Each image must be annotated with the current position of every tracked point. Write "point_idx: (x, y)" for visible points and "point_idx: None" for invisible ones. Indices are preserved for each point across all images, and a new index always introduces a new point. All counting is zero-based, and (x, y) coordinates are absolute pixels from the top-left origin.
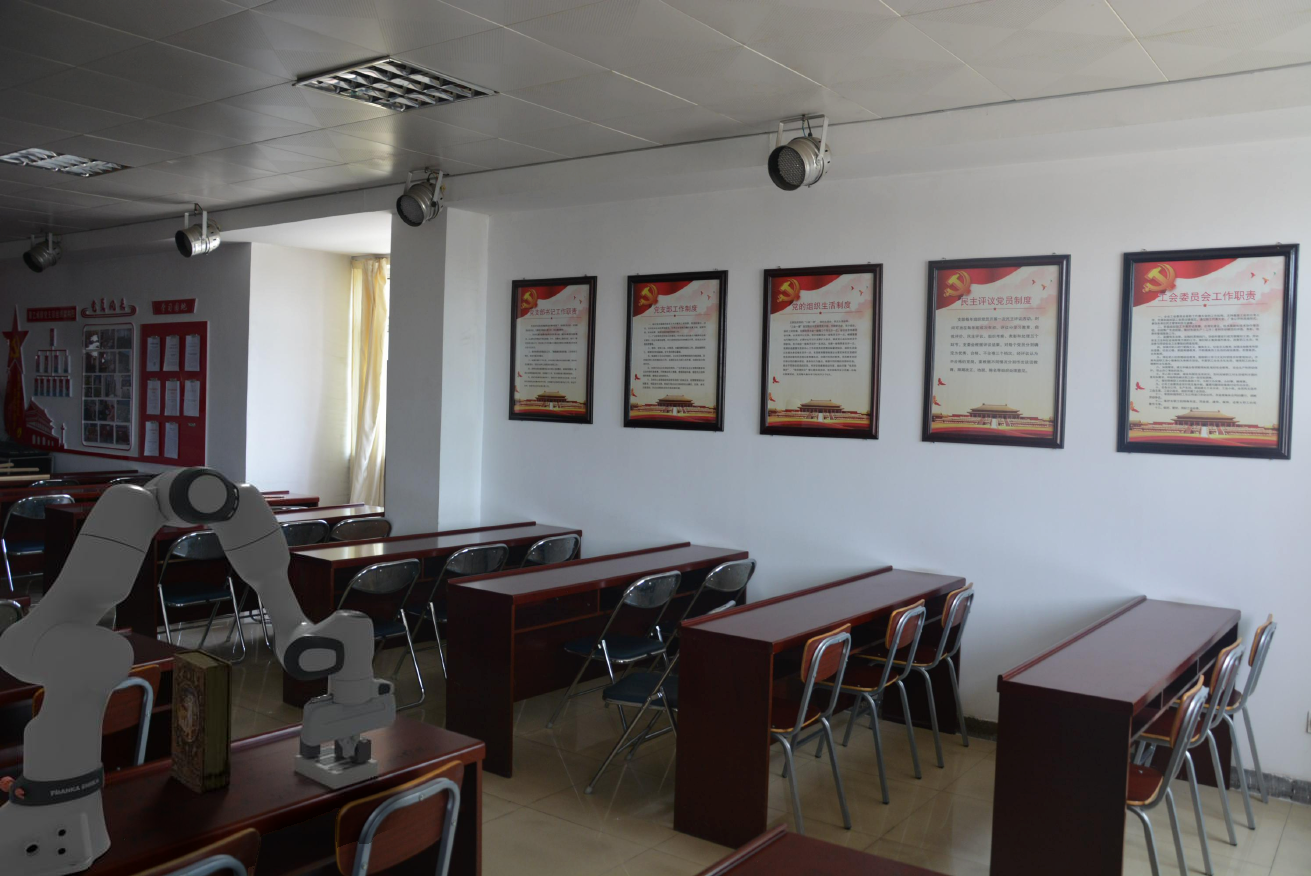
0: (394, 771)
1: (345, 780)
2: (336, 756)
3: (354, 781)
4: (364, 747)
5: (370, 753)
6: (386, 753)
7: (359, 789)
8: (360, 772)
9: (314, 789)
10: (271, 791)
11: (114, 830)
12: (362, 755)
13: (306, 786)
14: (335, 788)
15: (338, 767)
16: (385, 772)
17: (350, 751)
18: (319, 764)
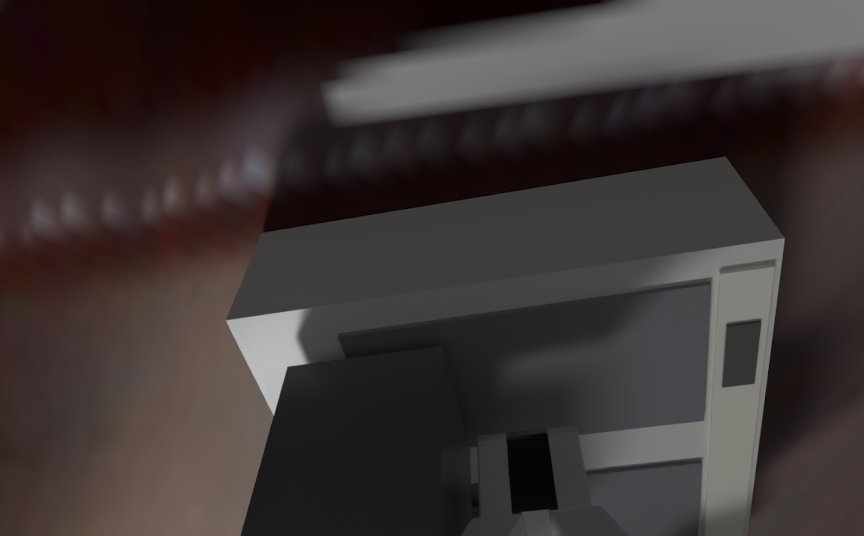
0: (95, 236)
1: (612, 201)
2: None
3: (502, 200)
4: (350, 486)
5: (280, 416)
6: (104, 519)
7: (543, 4)
8: (438, 249)
9: (845, 244)
10: None
11: None
12: (386, 406)
13: (839, 327)
14: (714, 159)
15: (642, 364)
16: (177, 257)
17: (542, 478)
18: (721, 488)
